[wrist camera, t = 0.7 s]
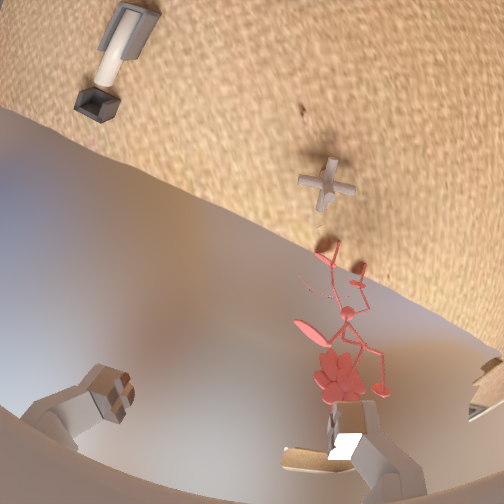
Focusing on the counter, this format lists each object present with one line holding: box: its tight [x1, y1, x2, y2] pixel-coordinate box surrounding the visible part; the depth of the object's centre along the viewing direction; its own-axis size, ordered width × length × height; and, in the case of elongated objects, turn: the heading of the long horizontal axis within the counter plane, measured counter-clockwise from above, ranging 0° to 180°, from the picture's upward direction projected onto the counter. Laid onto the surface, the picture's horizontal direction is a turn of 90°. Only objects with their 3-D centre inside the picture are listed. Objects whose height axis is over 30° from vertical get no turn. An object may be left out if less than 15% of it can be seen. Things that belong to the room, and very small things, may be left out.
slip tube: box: [94, 9, 143, 87], centre depth 38 cm, size 15×4×4 cm, turn 148°
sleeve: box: [97, 2, 161, 61], centre depth 37 cm, size 10×7×5 cm, turn 148°
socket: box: [74, 87, 121, 123], centre depth 46 cm, size 4×8×5 cm, turn 58°
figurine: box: [293, 224, 390, 413], centre depth 53 cm, size 15×26×35 cm, turn 52°
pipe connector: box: [298, 156, 356, 212], centre depth 49 cm, size 10×10×10 cm
